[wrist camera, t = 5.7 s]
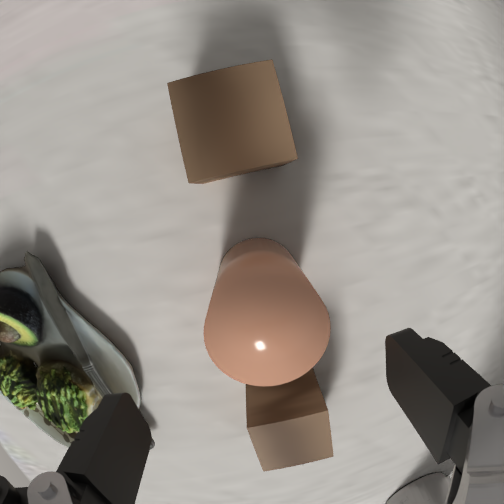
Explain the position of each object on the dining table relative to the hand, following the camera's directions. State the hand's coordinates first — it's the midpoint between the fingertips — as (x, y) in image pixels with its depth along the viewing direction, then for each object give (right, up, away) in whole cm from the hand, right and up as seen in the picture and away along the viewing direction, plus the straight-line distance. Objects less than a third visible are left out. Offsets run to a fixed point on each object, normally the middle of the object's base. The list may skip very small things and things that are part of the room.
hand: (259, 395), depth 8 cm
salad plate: (-18, -5, +13) cm, 23 cm away
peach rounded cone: (0, +3, +11) cm, 12 cm away
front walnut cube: (-1, +11, +9) cm, 15 cm away
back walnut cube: (+2, -7, +13) cm, 15 cm away
